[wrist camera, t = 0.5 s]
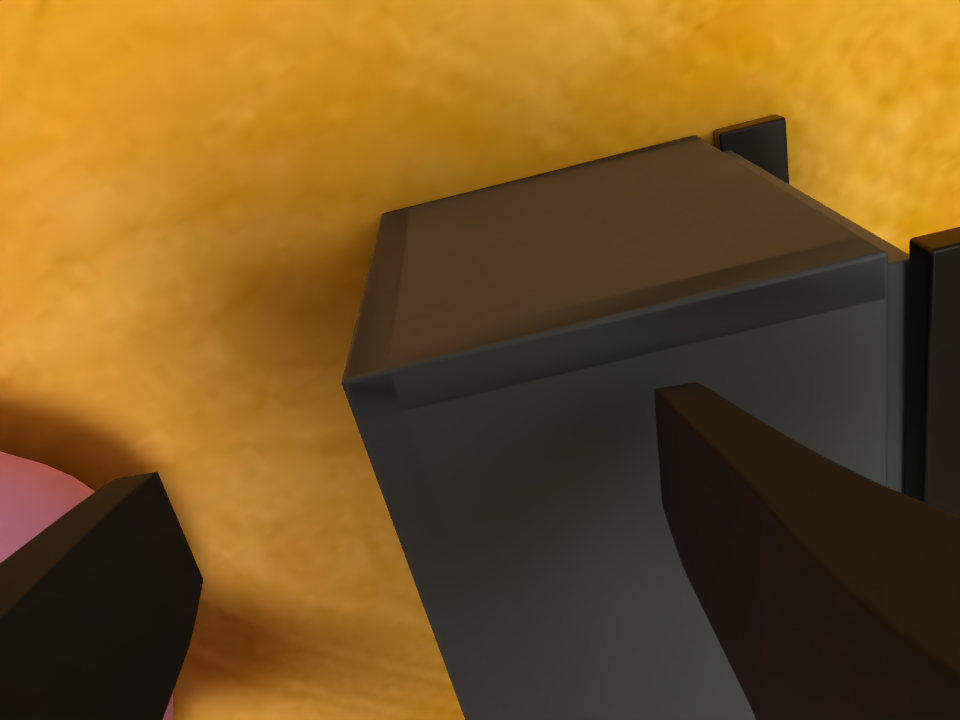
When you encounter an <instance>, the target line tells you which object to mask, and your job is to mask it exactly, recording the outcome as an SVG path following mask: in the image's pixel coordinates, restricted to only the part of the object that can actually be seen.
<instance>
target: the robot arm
mask: <svg viewBox="0 0 960 720" xmlns="http://www.w3.org/2000/svg"><path fill="white" fill-rule="evenodd" d="M654 400H655V414H656V427H657V441H658V455H659V469H660V483H661V497H662V507H663V510H664V513H665V516H666V519H667V522H668V525H669V528H670V531H671V534H672V537H673V540H674V543H675V546H676V549H677V552H678V555H679V558H680V561H681V563H682V566H683V568H684V570H685V572H686V575H687V577H688V579H689V581H690V583H691V585H692V587H693V589H694V591H695V593H696V595H697V598H698V600H699V602H700V604H701V606H702V608H703V610H704V612H705V614H706V616H707V618H708V620H709V622H710V624H711V626H712V629H713V631H714V633H715V635H716V637H717V639H718V641H719V643H720V645H721V647H722V649H723V651H724V653H725V655H726V657H727V659H728V661H729V663H730V665H731V667H732V669H733V672H734V674H735V676H736V678H737V680H738V682H739V684H740V686H741V688H742V690H743V692H744V694H745V696H746V698H747V700H748V702H749V705H750V707H751V709H752V712H753V714H754V716H755V718H756V720H960V516H957V515H954V514H952V513H949V512H946V511H944V510H941V509H939V508H936V507H934V506H932V505H929V504H927V503H924V502H922V501H919V500H917V499H914V498H912V497H910V496H907V495H905V494H902V493H900V492H897V491H895V490H892V489H890V488H888V487H886V486H884V485H881V484H879V483H877V482H875V481H872V480H870V479H868V478H866V477H864V476H862V475H860V474H858V473H856V472H854V471H852V470H850V469H848V468H846V467H844V466H842V465H840V464H838V463H836V462H834V461H832V460H830V459H828V458H826V457H824V456H822V455H820V454H818V453H817V452H815V451H813V450H811V449H809V448H807V447H806V446H804V445H802V444H800V443H798V442H797V441H795V440H793V439H791V438H789V437H788V436H786V435H784V434H783V433H781V432H779V431H777V430H776V429H774V428H772V427H771V426H769V425H767V424H766V423H764V422H762V421H761V420H759V419H757V418H756V417H754V416H752V415H751V414H749V413H747V412H746V411H744V410H743V409H741V408H739V407H738V406H736V405H735V404H733V403H731V402H730V401H728V400H727V399H725V398H723V397H722V396H720V395H718V394H717V393H715V392H714V391H712V390H710V389H709V388H707V387H705V386H703V385H702V384H700V383H698V382H693V383H687V384H681V385H675V386H669V387H663V388H657V389H654ZM202 584H203V578H202V575H201V573H200V571H199V568H198V566H197V564H196V561H195V559H194V557H193V554H192V552H191V550H190V547H189V545H188V543H187V540H186V538H185V536H184V533H183V531H182V529H181V526H180V524H179V521H178V519H177V517H176V514H175V512H174V510H173V507H172V505H171V503H170V500H169V498H168V496H167V493H166V491H165V489H164V486H163V484H162V482H161V479H160V477H159V475H158V472H153V473H147V474H141V475H135V476H129V477H123V478H117V479H115V480H113V481H112V482H110V483H108V484H107V485H105V486H103V487H102V488H100V489H99V490H97V491H96V492H94V493H93V494H92V495H90V496H89V497H87V498H86V499H84V500H83V501H82V502H80V503H79V504H78V505H76V506H75V507H73V508H72V509H71V510H69V511H68V512H67V513H65V514H64V515H63V516H61V517H60V518H59V519H57V520H56V521H55V522H54V523H52V524H51V525H50V526H48V527H47V528H46V529H44V530H43V531H42V532H40V533H39V534H38V535H37V536H35V537H34V538H33V539H31V540H30V541H29V542H27V543H26V544H25V545H23V546H22V547H21V548H19V549H18V550H17V551H16V552H14V553H13V554H12V555H10V556H9V557H8V558H6V559H5V560H4V561H2V562H1V563H0V720H163V717H164V715H165V712H166V709H167V707H168V704H169V701H170V699H171V696H172V693H173V690H174V688H175V685H176V682H177V679H178V676H179V674H180V671H181V668H182V665H183V663H184V660H185V657H186V654H187V651H188V648H189V645H190V641H191V637H192V633H193V629H194V624H195V620H196V616H197V611H198V605H199V600H200V595H201V590H202Z"/></svg>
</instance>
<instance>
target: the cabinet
mask: <svg viewBox="0 0 960 720" xmlns="http://www.w3.org/2000/svg"><path fill="white" fill-rule="evenodd" d="M714 140H715V147H714V146H712V145H711V144H709V143H707V142H706V141H704V140H702V139H701V138H699V137H698V136H691V137H687V138H683V139H679V140H675V141H671V142H667V143H663V144H659V145H655V146H651V147H647V148H643V149H639V150H635V151H631V152H627V153H623V154H619V155H615V156H611V157H607V158H603V159H599V160H595V161H591V162H587V163H583V164H579V165H575V166H571V167H567V168H563V169H559V170H555V171H551V172H547V173H543V174H539V175H535V176H531V177H527V178H523V179H519V180H515V181H511V182H507V183H503V184H499V185H495V186H491V187H487V188H483V189H479V190H475V191H471V192H467V193H463V194H459V195H456V196H452V197H448V198H444V199H440V200H436V201H432V202H428V203H424V204H420V205H416V206H412V207H407V208H403V209H399V210H395V211H391V212H387V213H383V214H382V217H381V221H380V225H379V229H378V233H377V238H376V242H375V246H374V250H373V254H372V258H371V262H370V267H369V271H368V275H367V279H366V283H365V287H364V291H363V296H362V300H361V304H360V308H359V312H358V316H357V320H356V325H355V329H354V333H353V337H352V341H351V345H350V349H349V353H348V358H347V362H346V366H345V370H344V374H343V378H342V385H343V388H344V391H345V394H346V396H347V399H348V402H349V404H350V407H351V410H352V413H353V415H354V418H355V421H356V423H357V426H358V429H359V432H360V434H361V437H362V440H363V442H364V445H365V448H366V451H367V453H368V456H369V459H370V462H371V464H372V467H373V470H374V472H375V475H376V478H377V481H378V483H379V486H380V489H381V491H382V494H383V497H384V500H385V502H386V505H387V508H388V511H389V513H390V516H391V519H392V521H393V524H394V527H395V530H396V532H397V535H398V538H399V540H400V543H401V546H402V549H403V551H404V554H405V557H406V560H407V562H408V565H409V568H410V570H411V573H412V576H413V579H414V581H415V584H416V587H417V589H418V592H419V595H420V598H421V600H422V603H423V606H424V608H425V611H426V614H427V617H428V619H429V622H430V625H431V628H432V630H433V633H434V636H435V638H436V641H437V644H438V647H439V649H440V652H441V655H442V657H443V660H444V663H445V666H446V668H447V671H448V674H449V677H450V679H451V682H452V685H453V687H454V690H455V693H456V696H457V698H458V701H459V704H460V706H461V709H462V712H463V715H464V717H465V720H756V718H755V716H754V714H753V712H752V709H751V707H750V705H749V702H748V700H747V698H746V696H745V694H744V692H743V690H742V688H741V686H740V684H739V682H738V680H737V678H736V676H735V674H734V672H733V669H732V667H731V665H730V663H729V661H728V659H727V657H726V655H725V653H724V651H723V649H722V647H721V645H720V643H719V641H718V639H717V637H716V635H715V633H714V631H713V629H712V626H711V624H710V622H709V620H708V618H707V616H706V614H705V612H704V610H703V608H702V606H701V604H700V602H699V600H698V598H697V595H696V593H695V591H694V589H693V587H692V585H691V583H690V581H689V579H688V577H687V575H686V572H685V570H684V568H683V566H682V563H681V561H680V558H679V555H678V552H677V549H676V546H675V543H674V540H673V537H672V534H671V531H670V528H669V525H668V522H667V519H666V516H665V513H664V510H663V507H662V497H661V483H660V469H659V455H658V441H657V427H656V414H655V400H654V389H657V388H663V387H669V386H675V385H681V384H687V383H693V382H698V383H700V384H702V385H703V386H705V387H707V388H709V389H710V390H712V391H714V392H715V393H717V394H718V395H720V396H722V397H723V398H725V399H727V400H728V401H730V402H731V403H733V404H735V405H736V406H738V407H739V408H741V409H743V410H744V411H746V412H747V413H749V414H751V415H752V416H754V417H756V418H757V419H759V420H761V421H762V422H764V423H766V424H767V425H769V426H771V427H772V428H774V429H776V430H777V431H779V432H781V433H783V434H784V435H786V436H788V437H789V438H791V439H793V440H795V441H797V442H798V443H800V444H802V445H804V446H806V447H807V448H809V449H811V450H813V451H815V452H817V453H818V454H820V455H822V456H824V457H826V458H828V459H830V460H832V461H834V462H836V463H838V464H840V465H842V466H844V467H846V468H848V469H850V470H852V471H854V472H856V473H858V474H860V475H862V476H864V477H866V478H868V479H870V480H872V481H875V482H877V483H879V484H881V485H884V486H886V487H888V488H890V489H892V490H895V491H897V492H900V493H902V494H905V495H907V496H910V497H912V498H914V499H917V500H919V501H922V502H924V503H927V504H929V505H932V506H934V507H936V508H939V509H941V510H944V511H946V512H949V513H952V514H954V515H957V516H960V227H957V228H953V229H948V230H944V231H940V232H936V233H932V234H927V235H923V236H919V237H915V238H912V239H910V249H909V254H907V253H905V252H904V251H902V250H900V249H898V248H897V247H895V246H893V245H892V244H890V243H888V242H886V241H885V240H883V239H881V238H880V237H878V236H876V235H875V234H873V233H871V232H869V231H868V230H866V229H864V228H863V227H861V226H859V225H857V224H856V223H854V222H852V221H851V220H849V219H847V218H845V217H844V216H842V215H840V214H839V213H837V212H835V211H834V210H832V209H830V208H828V207H827V206H825V205H823V204H822V203H820V202H818V201H816V200H815V199H813V198H811V197H810V196H808V195H806V194H804V193H803V192H801V191H799V190H798V189H796V188H794V187H793V186H791V185H789V174H788V157H787V139H786V122H785V118H784V117H782V116H779V115H774V116H770V117H766V118H762V119H758V120H754V121H750V122H746V123H742V124H738V125H734V126H730V127H726V128H722V129H718V130H715V131H714Z"/></svg>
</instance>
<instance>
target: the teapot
mask: <svg viewBox="0 0 960 720" xmlns="http://www.w3.org/2000/svg"><path fill="white" fill-rule="evenodd" d="M94 492H95V491H94V490H92V489H91V488H89V487H88V486H86V485H85V484H83V483H82V482H80V481H79V480H77V479H76V478H75V477H73V476H71V475H68V474H66V473H64V472H61V471H59V470H57V469H55V468H52V467H50V466H48V465H45V464H42V463H39V462H35V461H32V460H28V459H25V458H21V457H18V456H14V455H11V454H7V453H3V452H0V563H1V562H2V561H4V560H5V559H6V558H8V557H9V556H10V555H12V554H13V553H14V552H16V551H17V550H18V549H19V548H21V547H22V546H23V545H25V544H26V543H27V542H29V541H30V540H31V539H33V538H34V537H35V536H37V535H38V534H39V533H40V532H42V531H43V530H44V529H46V528H47V527H48V526H50V525H51V524H52V523H54V522H55V521H56V520H57V519H59V518H60V517H61V516H63V515H64V514H65V513H67V512H68V511H69V510H71V509H72V508H73V507H75V506H76V505H78V504H79V503H80V502H82V501H83V500H84V499H86V498H87V497H89V496H90V495H92V494H93V493H94ZM163 720H173V693H172V696H171V699H170V701H169V704H168V707H167V709H166V712H165V715H164V717H163Z"/></svg>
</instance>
